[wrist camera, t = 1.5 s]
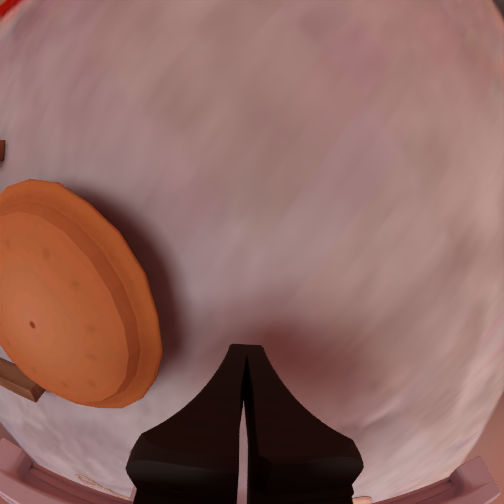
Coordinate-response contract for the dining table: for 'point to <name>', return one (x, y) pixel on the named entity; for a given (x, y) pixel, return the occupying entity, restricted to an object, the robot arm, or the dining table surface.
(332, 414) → the dining table surface
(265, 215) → the dining table surface
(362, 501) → the candle
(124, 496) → the scissors
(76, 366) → the pie
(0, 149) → the serving rack
